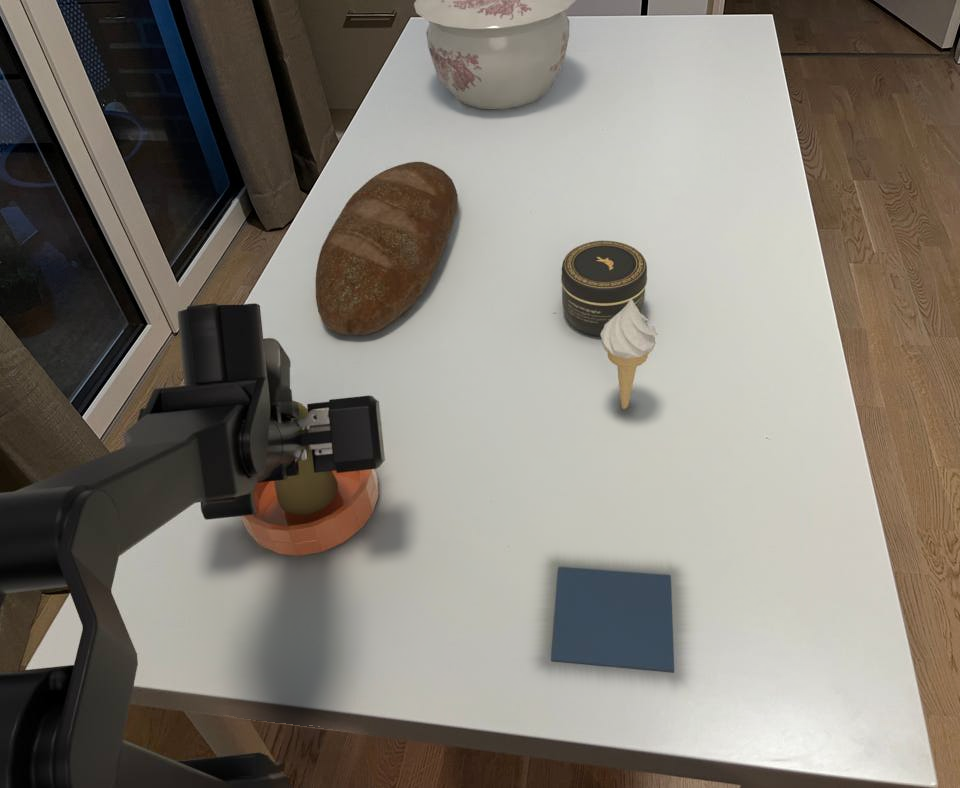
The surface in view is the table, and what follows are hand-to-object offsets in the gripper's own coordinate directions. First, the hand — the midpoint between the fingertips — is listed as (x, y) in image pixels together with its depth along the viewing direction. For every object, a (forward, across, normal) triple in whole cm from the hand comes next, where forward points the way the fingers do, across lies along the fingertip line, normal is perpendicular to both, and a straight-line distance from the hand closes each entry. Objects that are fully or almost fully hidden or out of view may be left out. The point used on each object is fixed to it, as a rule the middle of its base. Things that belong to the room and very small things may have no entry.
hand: (294, 439), depth 76 cm
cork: (+4, 0, +5) cm, 6 cm away
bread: (+34, -8, -23) cm, 42 cm away
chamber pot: (+68, -28, -58) cm, 93 cm away
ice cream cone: (+11, -33, +1) cm, 35 cm away
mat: (-6, -27, +18) cm, 33 cm away
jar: (+22, -34, -11) cm, 42 cm away
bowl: (+5, 0, +6) cm, 8 cm away
